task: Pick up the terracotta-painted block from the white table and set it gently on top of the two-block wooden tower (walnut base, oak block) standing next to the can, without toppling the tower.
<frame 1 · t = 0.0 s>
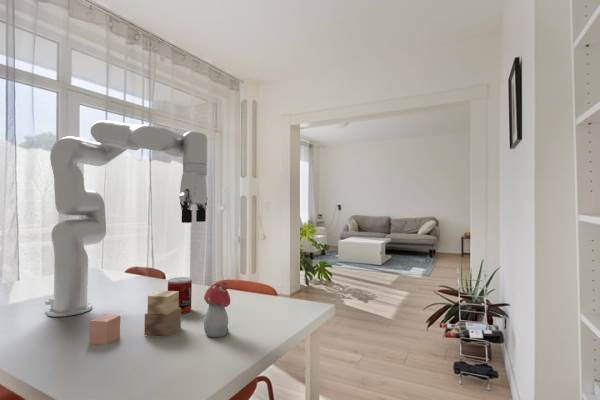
hand: (194, 222, 104), 31 cm above the table, fingers open, 9 cm apart
walnut base: (163, 331, 91), on the table, touching oak block
terracotta block: (104, 340, 85), on the table
decorative ornament: (217, 334, 90), on the table
canned food: (179, 311, 110), on the table
oak block: (163, 310, 92), point 6 cm above the table, touching walnut base
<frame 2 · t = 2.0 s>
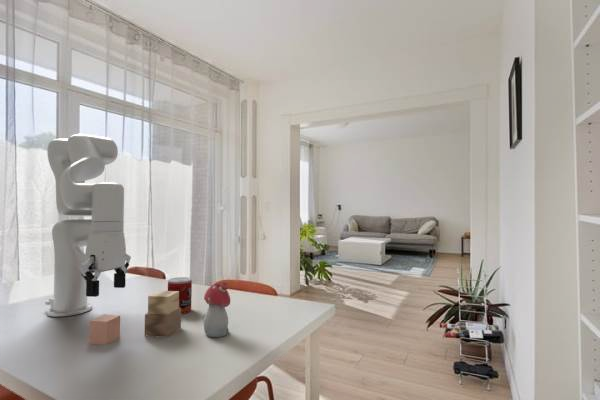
hand: (106, 291, 85), 13 cm above the table, fingers open, 9 cm apart
nothing on the table moved.
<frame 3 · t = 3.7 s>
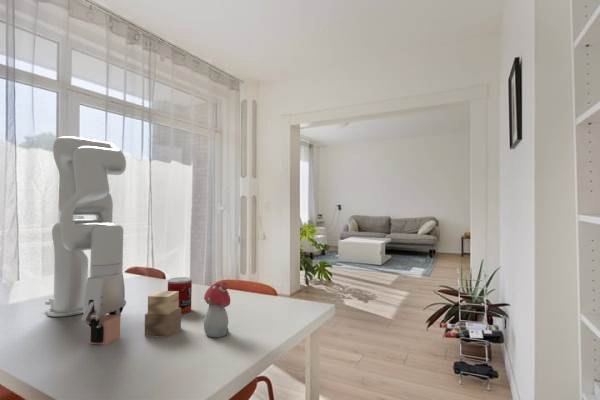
hand: (105, 337, 85), 1 cm above the table, fingers closed on terracotta block, 5 cm apart
terracotta block: (105, 340, 85), on the table, touching gripper
everything else where it was.
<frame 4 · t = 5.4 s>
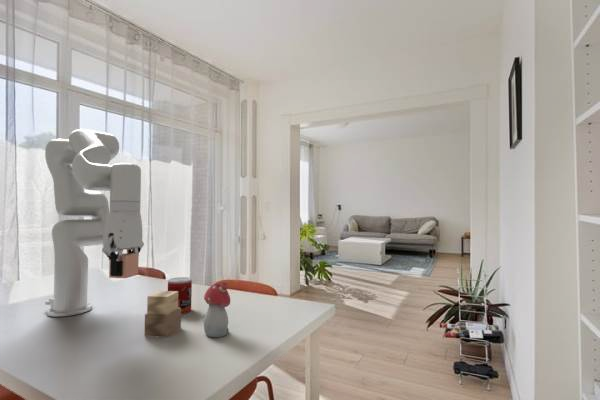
hand: (124, 273, 88), 18 cm above the table, fingers closed on terracotta block, 5 cm apart
terracotta block: (124, 276, 87), point 17 cm above the table, touching gripper
everything else where it was.
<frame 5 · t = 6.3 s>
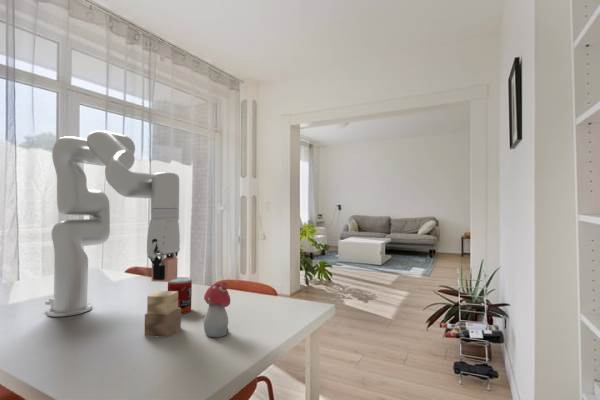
hand: (164, 276, 92), 16 cm above the table, fingers closed on terracotta block, 5 cm apart
terracotta block: (164, 279, 92), point 15 cm above the table, touching gripper
everything else where it was.
when the fingers open (13 cm above the table, at t = 7.1 s): terracotta block drops 1 cm, resting on oak block.
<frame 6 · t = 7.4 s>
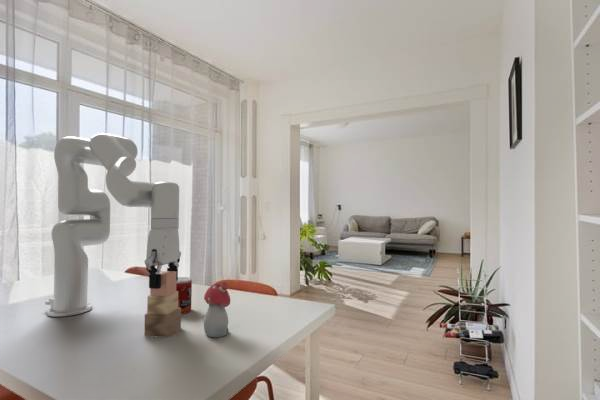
hand: (164, 284, 92), 14 cm above the table, fingers open, 8 cm apart
terracotta block: (163, 293, 92), point 11 cm above the table, touching oak block
oak block: (163, 311, 92), point 6 cm above the table, touching terracotta block, walnut base
everything else where it was.
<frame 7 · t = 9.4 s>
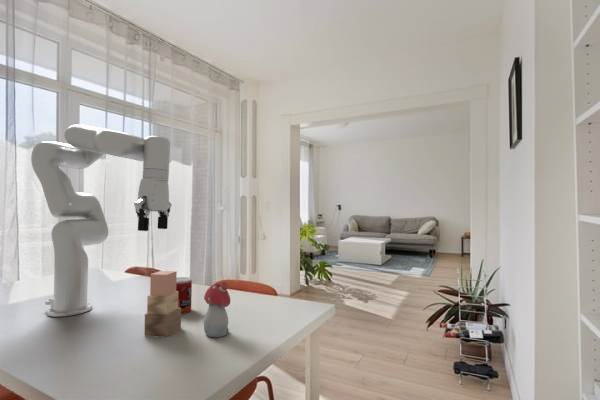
hand: (153, 229, 100), 29 cm above the table, fingers open, 9 cm apart
nothing on the table moved.
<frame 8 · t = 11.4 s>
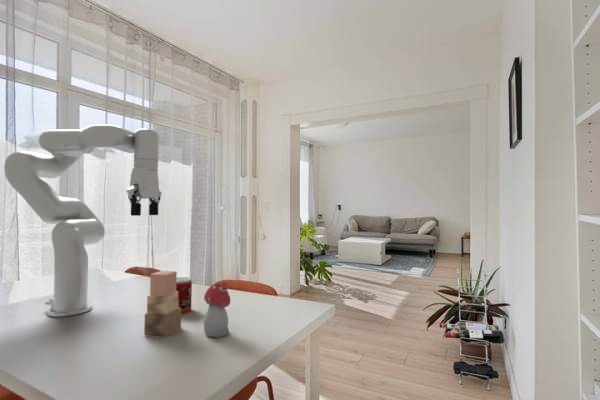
hand: (145, 215, 109), 33 cm above the table, fingers open, 9 cm apart
nothing on the table moved.
at the end: terracotta block 0.1 cm off-centre on the oak block, point 5.0 cm above the oak block's base; oak block tilted 0°; walnut base moved 0.1 cm from its start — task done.
